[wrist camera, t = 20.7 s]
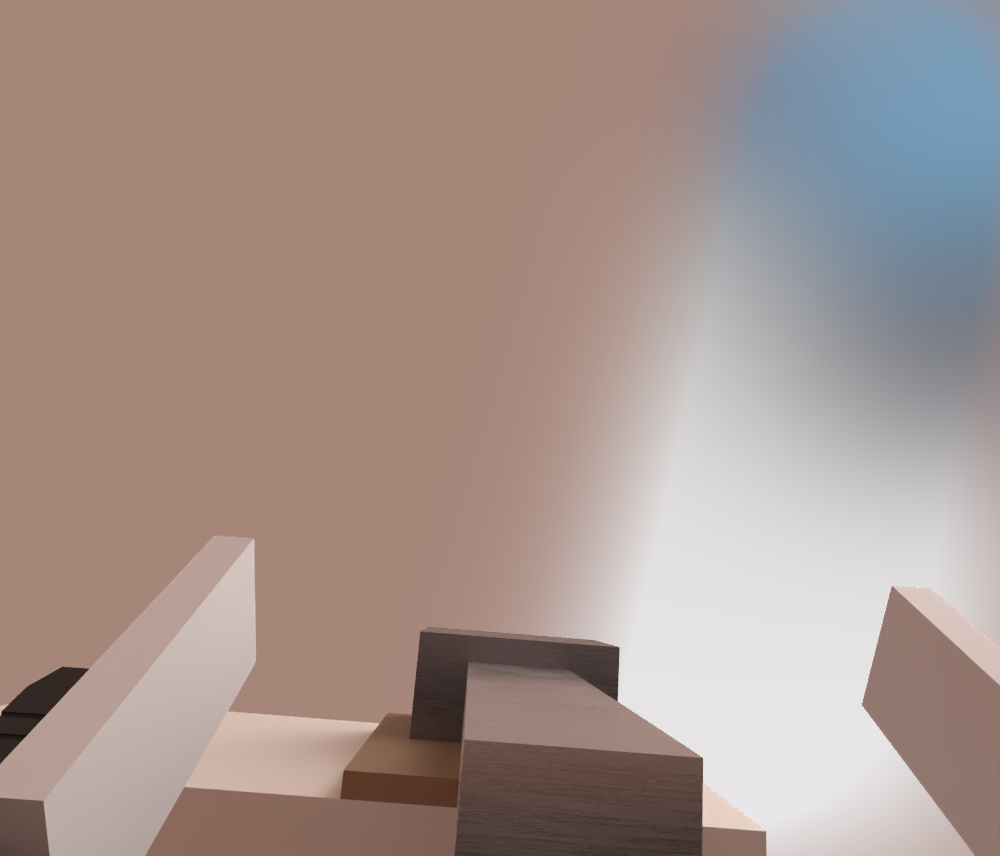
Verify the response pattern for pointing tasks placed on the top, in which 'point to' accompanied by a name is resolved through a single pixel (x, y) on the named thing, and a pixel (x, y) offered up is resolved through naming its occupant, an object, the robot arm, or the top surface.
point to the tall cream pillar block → (347, 794)
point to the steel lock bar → (552, 750)
